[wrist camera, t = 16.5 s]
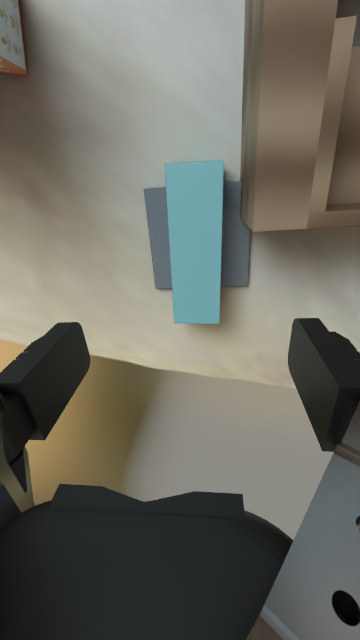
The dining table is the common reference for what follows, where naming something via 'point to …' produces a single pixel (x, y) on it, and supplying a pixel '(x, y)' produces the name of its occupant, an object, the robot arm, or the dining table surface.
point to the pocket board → (300, 117)
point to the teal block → (195, 239)
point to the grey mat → (231, 246)
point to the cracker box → (11, 39)
